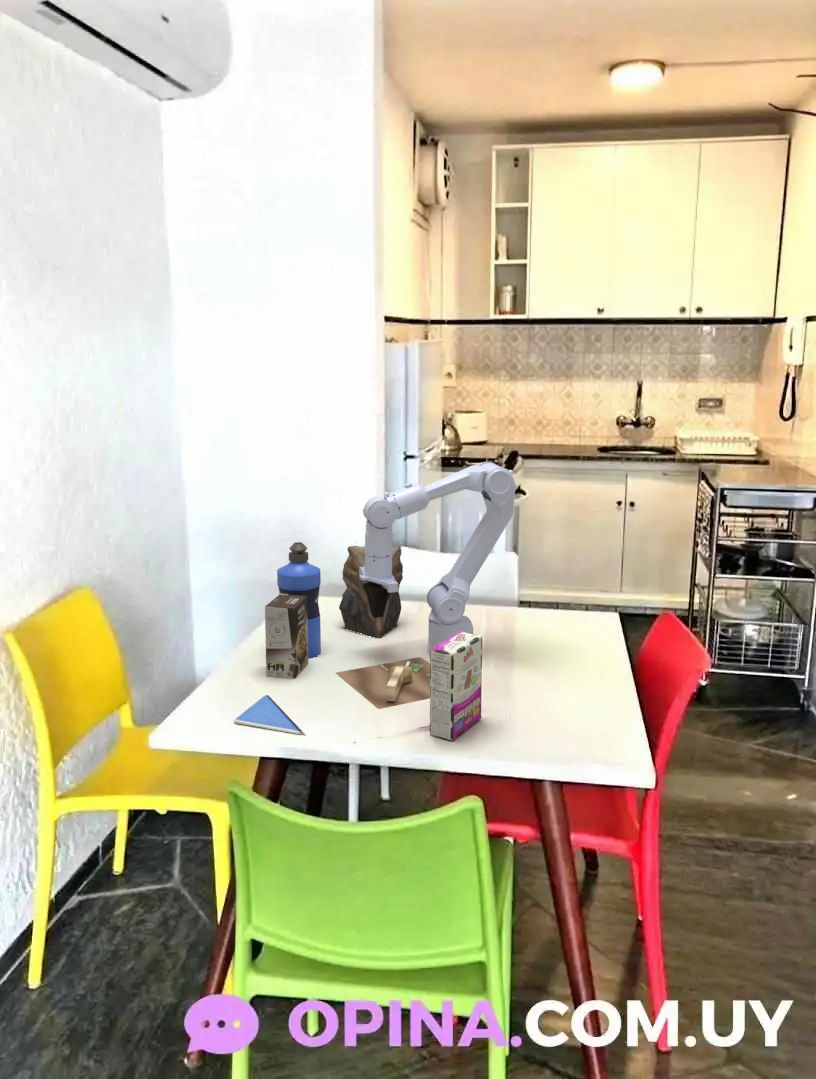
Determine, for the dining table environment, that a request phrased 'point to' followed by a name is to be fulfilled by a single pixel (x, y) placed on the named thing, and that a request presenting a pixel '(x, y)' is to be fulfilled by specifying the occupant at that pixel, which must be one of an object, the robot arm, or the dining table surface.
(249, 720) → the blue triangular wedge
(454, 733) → the candy bar box
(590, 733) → the dining table surface
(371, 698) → the dial board
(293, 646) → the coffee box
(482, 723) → the dining table surface
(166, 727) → the dining table surface
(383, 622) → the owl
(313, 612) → the water bottle
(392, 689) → the dial lever
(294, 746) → the dining table surface
